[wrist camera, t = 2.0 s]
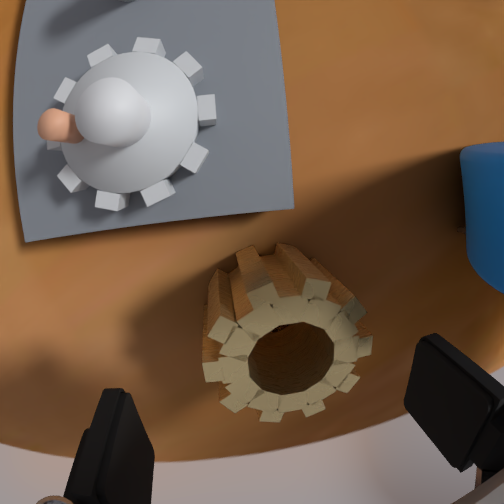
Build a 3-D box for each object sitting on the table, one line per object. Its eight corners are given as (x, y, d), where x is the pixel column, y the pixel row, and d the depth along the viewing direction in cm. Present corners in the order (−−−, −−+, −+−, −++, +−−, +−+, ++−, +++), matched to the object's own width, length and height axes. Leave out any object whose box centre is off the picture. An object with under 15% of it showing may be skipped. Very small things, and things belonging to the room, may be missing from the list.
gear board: (250, -92, 9) (264, -147, 4) (283, 203, 14) (323, 223, 9) (59, -57, 8) (28, -100, 3) (45, 233, 13) (-20, 265, 8)
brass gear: (329, 236, 15) (378, 267, 10) (328, 347, 17) (363, 403, 12) (196, 251, 14) (189, 291, 10) (214, 364, 16) (216, 430, 11)
